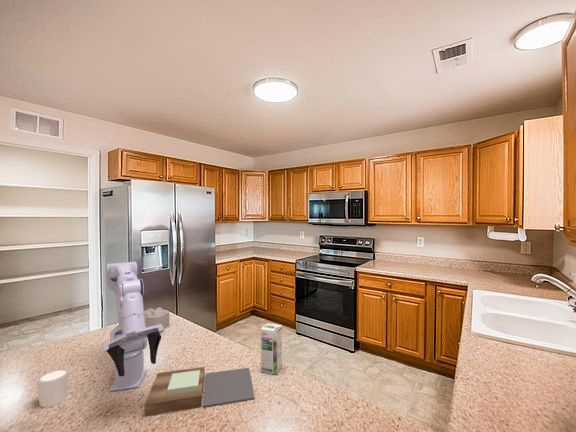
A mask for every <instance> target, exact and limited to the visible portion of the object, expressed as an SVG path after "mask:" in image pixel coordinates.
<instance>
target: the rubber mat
mask: <svg viewBox="0 0 576 432" xmlns="http://www.w3.org/2000/svg"><path fill="white" fill-rule="evenodd" d="M254 392H255V391H254V387H253V381H252V376H251V371H250V367H243V368H237V369H228V370H222V371H214V372H207V373H206V374H205V379H204V389H203V400H202V408H203V409H204V408H210V407H216V406H222V405H223V406H224V405H227V404H234V403H240V402H246V401H252V400H255V399H256V398H255V393H254Z"/></svg>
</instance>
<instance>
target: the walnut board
mask: <svg viewBox="0 0 576 432" xmlns="http://www.w3.org/2000/svg"><path fill="white" fill-rule="evenodd" d="M197 370H200V380H199V388H198V391H193V392H186V393H180V394H173V395H167V389H168V386H169V383H170V380H171V377H172V374H174V373H182V372H189V371H197ZM204 386H205V366H201V367H195V368H194V367H191V368H185V369H178V370H170V371H161V372H157V373H156V376H155V379H154V381H153V384H152V386H151V389H150V391H149V393H148V396H147V397H146V400H145V403H144V417H149V416H154V415H160V414H166V413H173V412H179V411H184V410H191V409H196V408H201V407H202V405H203V395H204Z"/></svg>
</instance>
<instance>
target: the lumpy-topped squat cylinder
mask: <svg viewBox="0 0 576 432" xmlns="http://www.w3.org/2000/svg"><path fill="white" fill-rule="evenodd" d="M144 316H145V324H146V328H147V327H151V326H155V325H159V324H162V325H163V327H164V330H166V329H168V328H169V327H170V311H169V310H167V309H164V308H162V307H157V308H148V309H147V310H146V309H145V310H144ZM167 327H168V328H167ZM165 328H166V329H165Z"/></svg>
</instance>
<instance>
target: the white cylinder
mask: <svg viewBox="0 0 576 432" xmlns="http://www.w3.org/2000/svg"><path fill="white" fill-rule="evenodd" d="M69 374H70V371H69V370H68V369H66V368H65V369H64V368H63V369H55V370H51V371H49V372H46V373H44V374H42V375H41V376H39V377H38V378H37V380H36V384H37V393H38V395H37V396H38V402H39V407H41V408H47V407H53V406H55V405H57V404H60V403H61V402H63V401H64V400H65V399H66V397H67V390H68V384H69V383H68V381H69Z"/></svg>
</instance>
